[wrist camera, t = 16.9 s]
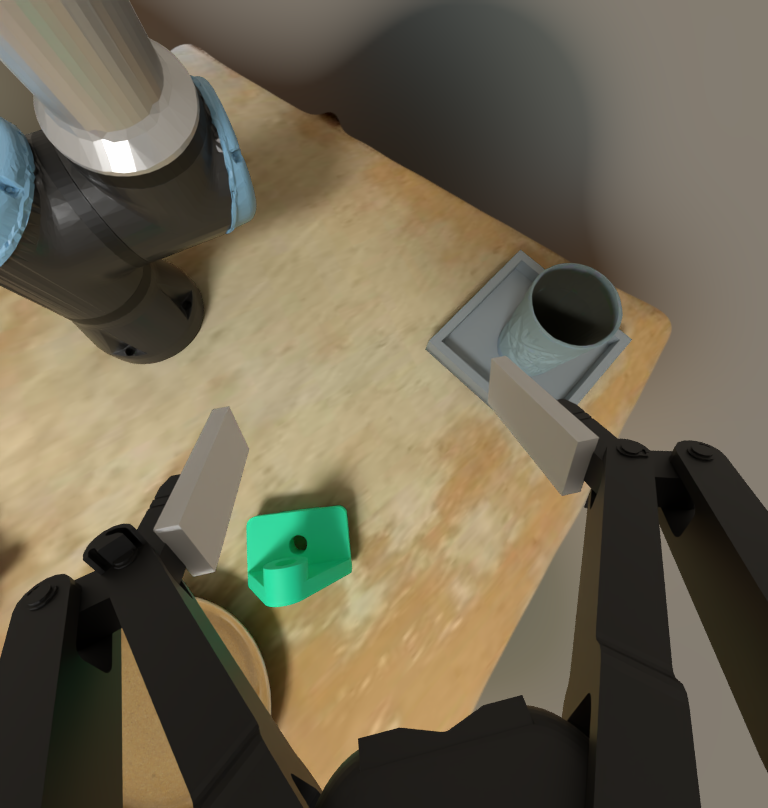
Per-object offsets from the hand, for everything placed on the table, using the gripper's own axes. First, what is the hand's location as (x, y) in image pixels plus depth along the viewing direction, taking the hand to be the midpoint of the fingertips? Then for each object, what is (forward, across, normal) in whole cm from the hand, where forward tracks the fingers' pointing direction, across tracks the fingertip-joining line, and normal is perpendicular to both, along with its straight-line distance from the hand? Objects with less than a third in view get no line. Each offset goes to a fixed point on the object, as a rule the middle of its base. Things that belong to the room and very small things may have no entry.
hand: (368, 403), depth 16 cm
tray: (+26, +24, -13) cm, 38 cm away
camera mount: (+12, -11, -27) cm, 32 cm away
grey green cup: (+26, +24, -12) cm, 37 cm away
